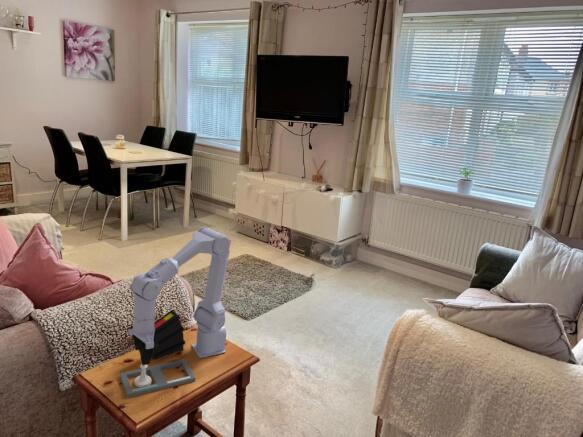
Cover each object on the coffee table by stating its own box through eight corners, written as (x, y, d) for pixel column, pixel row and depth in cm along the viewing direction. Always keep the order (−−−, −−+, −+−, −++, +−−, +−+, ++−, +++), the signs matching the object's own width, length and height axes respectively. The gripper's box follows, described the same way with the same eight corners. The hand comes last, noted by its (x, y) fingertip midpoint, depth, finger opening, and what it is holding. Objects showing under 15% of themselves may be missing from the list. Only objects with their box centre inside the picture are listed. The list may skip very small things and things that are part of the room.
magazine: (192, 343, 149) (178, 313, 140) (159, 369, 142) (142, 339, 134) (187, 338, 151) (172, 308, 143) (154, 363, 145) (137, 333, 136)
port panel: (184, 362, 141) (185, 358, 141) (195, 380, 133) (195, 377, 133) (120, 376, 130) (120, 372, 130) (127, 397, 123) (127, 394, 122)
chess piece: (134, 377, 131) (135, 348, 128) (151, 376, 133) (153, 348, 130) (133, 388, 127) (135, 359, 124) (151, 386, 128) (153, 358, 125)
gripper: (124, 305, 126) (122, 345, 130) (135, 331, 115) (134, 374, 119) (148, 301, 130) (146, 340, 134) (162, 326, 119) (159, 368, 122)
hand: (142, 356), depth 127 cm, fingers open, 7 cm apart
